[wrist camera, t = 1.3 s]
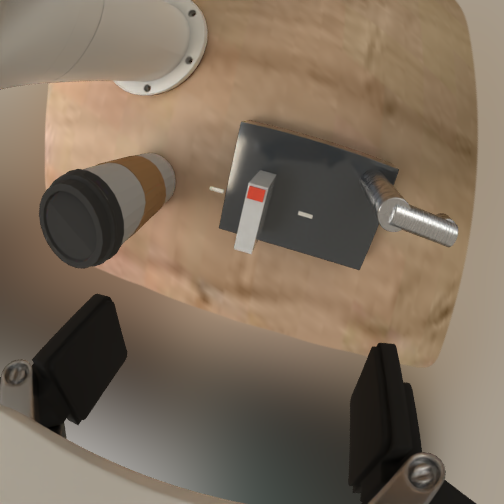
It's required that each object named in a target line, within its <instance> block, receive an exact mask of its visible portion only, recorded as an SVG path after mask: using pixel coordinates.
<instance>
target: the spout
mask: <svg viewBox="0 0 504 504" xmlns="http://www.w3.org/2000/svg"><path fill="white" fill-rule="evenodd" d="M361 187H362V189H363V191H364V193H365V195H366V197H367V199H368V201H369V203H370V205H371V207H372V209H373V211H374V213H375V216H376V218H377V220H378V222H379V224H380V225H381V227H382V228H384V229H385V230H387V231H390V232H397V231H400V230H403V231H406V232H409V233H412V234H414V235H417V236H420V237H422V238H425V239H428V240H430V241H433V242H436V243H438V244H441V245H443V246H446V247H451V246H452V245H453V244H454V243H455V241H456V239H457V236H458V226H457V225H456V224H455V222H454V221H453V220H452V219H451V218H450V217H449V216H448V215H446V214H443V213H440V214H437V215H434V214H432V213H429V212H427V211H424V210H422V209H419V208H417V207H414V206H412V205H409V204H408V203H407V202H406V200H405V199H404V198H403V197H402V196H401V194H400V193H399V192H398V191H397V190H396V189H395V188H394V186H393V185H392V184H391V183H390V182H389V181H388V180H387V179H386V177H385V176H384V175H383V174H382V173H381V172H379V171H377V170H369V171H367V172H365V173H364V174H363V175H362V177H361Z"/></svg>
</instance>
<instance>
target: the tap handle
mask: <svg viewBox="0 0 504 504" xmlns="http://www.w3.org/2000/svg"><path fill="white" fill-rule="evenodd" d="M275 178H276V174H273V173H269V172H266V171H262V170H260V171H259V172H258V173H257V174H256V175H255V176H254V177H253V178H252V180H251V181H250V182H249V183H248V187H247V192H246V196H245V200H244V205H243V209H242V214H241V218H240V223H239V227H238V231H237V236H236V240H235V245H234V249H235V250H239V251H242V252H245V253H249V254H252V252H253V250H254V248H255V245H256V243H257V241H258V239H259V236H260V234H261V232H262V228H263V224H264V221H265V217H266V213H267V209H268V205H269V201H270V198H271V194H272V190H273V186H274V182H275Z"/></svg>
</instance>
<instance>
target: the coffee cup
mask: <svg viewBox="0 0 504 504" xmlns="http://www.w3.org/2000/svg"><path fill="white" fill-rule="evenodd" d="M175 182H176V181H175V173H174V171H173V168H172V166H171V165H170V164H169V162H168V161H167V160H165V159H164V158H163V157H162V156H160V155H157V154H154V153H145V154H140V155H135V156H129V157H125V158H121V159H117V160H113V161H109V162H105V163H101V164H98V165H96V166H93V167H90V168H86V169H83V170H81V169H76V170H72V171H69V172H67V173H66V174H64V175H62V176H61V177H59V178H58V179H56V180H55V181H54V182H53V183H52V185H51V186H50V187H49V188H48V189H47V190H46V192H45V193H44V195H43V196H42V199H41V203H40V210H39V217H40V225H41V228H42V231H43V234H44V237H45V239H46V241H47V243H48V245H49V246H50V248H51V249H52V251H53V252H54V253H55V254H56V255H57V256H58V257H59V258H60V259H61V260H62V261H64V262H65V263H67V264H68V265H70V266H73V267H75V268H87V267H90V266H97V265H100V264H102V263H104V262H105V261H106V260H108V259H110V258H111V257H113V256H114V255H115V254H116V253H117V252H118V250H119V248H120V247H121V245H122V244H123V243H124V242H125V241H126V240H127V239H128V238H130V237H131V236H132V235H133V234H135V233H136V232H137V231H138V230H139V229H140V228H141V227H142V226H143V225H144V224H145V223H146V222H147V221H148V220H149V219H150V218H151V217H152V216H153V215H154V214H155V213H156V212H157V211H158V210H159V209H161V207H162V206H163V205H164V204H165V203H166V202H167V201H168V200H169V199H170V198H171V196H172V195H173V192H174V189H175Z"/></svg>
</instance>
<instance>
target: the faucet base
mask: <svg viewBox="0 0 504 504" xmlns="http://www.w3.org/2000/svg"><path fill="white" fill-rule="evenodd" d="M260 170H262V171H266V172H269V173H273V174H276V178H275V182H274V186H273V190H272V194H271V198H270V201H269V205H268V209H267V213H266V217H265V221H264V224H263V228H262V232H261V234H260V236H259V239H258V240H260V241H264V242H267V243H271V244H274V245H277V246H281V247H284V248H287V249H291V250H294V251H297V252H301V253H304V254H307V255H311V256H314V257H317V258H321V259H324V260H327V261H331V262H334V263H337V264H341V265H344V266H347V267H350V268H354V269H357V270H360V268H361V266H362V263H363V261H364V259H365V257H366V254H367V252H368V249H369V247H370V245H371V242H372V240H373V237H374V235H375V233H376V230H377V228H378V225H379V222H378V220H377V218H376V216H375V213H374V211H373V209H372V207H371V205H370V203H369V201H368V199H367V197H366V195H365V193H364V191H363V189H362V187H361V177H362V175H363V174H364V173H365V172H367V171H369V170H377V171H379V172H381V173H382V174H383V175H384V176H385V177H386V179H387V180H388V181H389V182H390V183H391V184H392V185H394V183H395V180H396V177H397V174H398V171H399V169H398V168H396V167H395V166H394V165H393V164H392V163H390V162H387V161H385V160H382V159H379V158H377V157H374V156H371V155H368V154H366V153H363V152H360V151H357V150H354V149H351V148H348V147H345V146H342V145H339V144H336V143H333V142H329V141H326V140H323V139H320V138H316V137H313V136H309V135H306V134H302V133H299V132H295V131H292V130H288V129H284V128H280V127H276V126H272V125H268V124H264V123H260V122H256V121H252V120H247V121H242V122H241V125H240V129H239V134H238V138H237V143H236V147H235V152H234V157H233V161H232V166H231V171H230V175H229V180H228V185H227V190H226V195H225V200H224V205H223V210H222V215H221V220H220V225H219V229H223V230H226V231H230V232H233V233H237V231H238V227H239V223H240V218H241V214H242V209H243V205H244V200H245V196H246V192H247V187H248V183H249V182H250V181H251V180H252V178H253V177H254V176H255V175H256V174H257V173H258V172H259V171H260ZM210 190H212V191H216V192H220V193H224V190H223V189H220V188H216V187H212V186H210Z"/></svg>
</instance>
